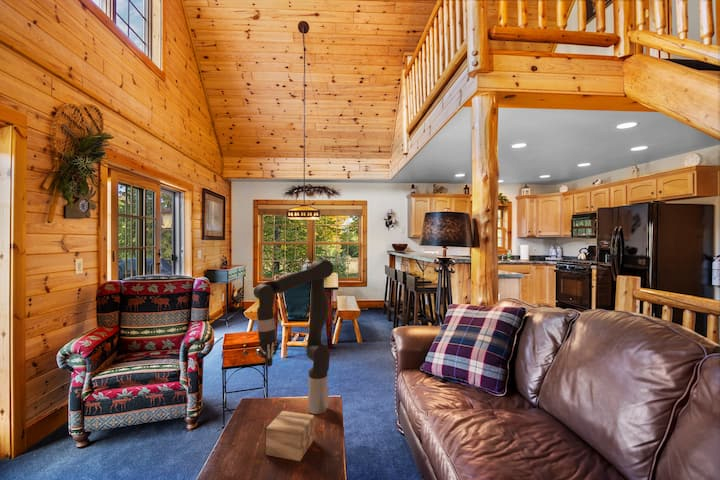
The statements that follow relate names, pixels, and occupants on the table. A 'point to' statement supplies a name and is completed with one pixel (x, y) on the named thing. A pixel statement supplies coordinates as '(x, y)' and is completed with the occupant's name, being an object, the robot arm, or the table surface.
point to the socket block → (289, 435)
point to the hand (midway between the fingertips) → (269, 365)
